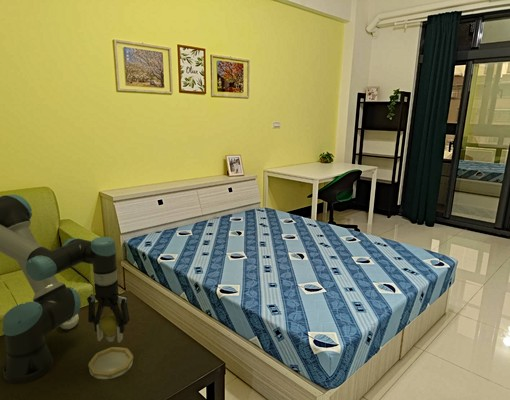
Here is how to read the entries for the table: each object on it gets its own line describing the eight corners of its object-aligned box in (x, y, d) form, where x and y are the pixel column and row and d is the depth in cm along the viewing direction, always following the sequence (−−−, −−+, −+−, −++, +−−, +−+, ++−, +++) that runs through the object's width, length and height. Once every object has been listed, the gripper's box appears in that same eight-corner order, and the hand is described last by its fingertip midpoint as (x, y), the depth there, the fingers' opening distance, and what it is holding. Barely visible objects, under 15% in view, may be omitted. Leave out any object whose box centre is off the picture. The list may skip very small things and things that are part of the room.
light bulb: (113, 347, 125) (112, 321, 123) (96, 343, 126) (95, 319, 124) (124, 335, 132) (123, 311, 129) (108, 332, 133) (106, 309, 130)
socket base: (80, 377, 124) (80, 372, 124) (101, 349, 139) (101, 345, 138) (122, 381, 124) (122, 376, 123) (139, 352, 138) (138, 348, 138)
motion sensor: (58, 334, 147) (56, 318, 145) (58, 325, 153) (56, 309, 152) (79, 329, 151) (78, 313, 149) (78, 320, 157) (77, 304, 155)
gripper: (72, 284, 120) (78, 344, 125) (129, 288, 119) (132, 347, 124) (84, 274, 127) (89, 331, 133) (137, 278, 126) (140, 334, 132)
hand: (110, 339), depth 129 cm, fingers closed on light bulb, 7 cm apart
